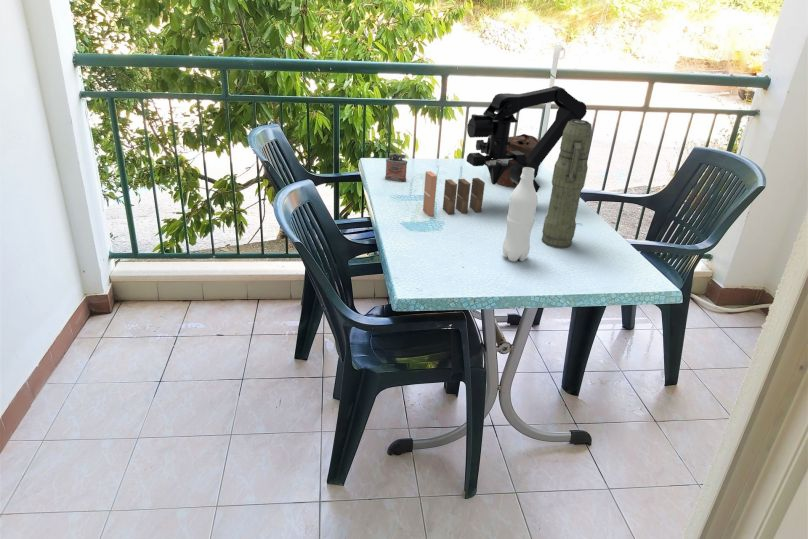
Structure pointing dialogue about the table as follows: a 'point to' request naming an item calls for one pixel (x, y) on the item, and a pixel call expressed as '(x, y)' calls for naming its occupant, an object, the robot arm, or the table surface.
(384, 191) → the table surface
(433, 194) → the end tile
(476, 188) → the tile
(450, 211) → the tile
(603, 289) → the table surface
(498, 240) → the table surface
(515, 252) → the water bottle
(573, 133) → the thermos
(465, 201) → the tile
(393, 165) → the lighter
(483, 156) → the robot arm
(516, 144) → the case
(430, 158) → the table surface
